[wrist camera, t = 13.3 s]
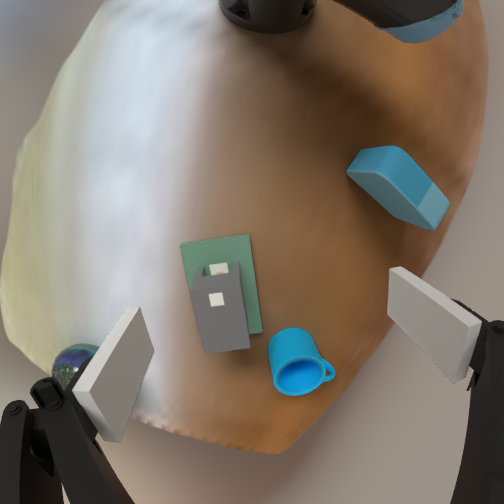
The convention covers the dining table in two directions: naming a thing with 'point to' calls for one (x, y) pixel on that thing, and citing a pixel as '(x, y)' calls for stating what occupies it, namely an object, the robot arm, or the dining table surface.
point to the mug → (297, 362)
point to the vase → (71, 362)
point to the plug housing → (220, 310)
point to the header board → (226, 267)
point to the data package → (399, 185)
